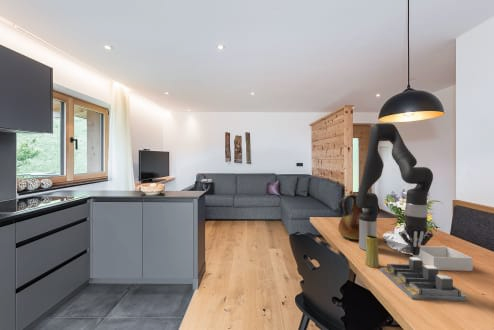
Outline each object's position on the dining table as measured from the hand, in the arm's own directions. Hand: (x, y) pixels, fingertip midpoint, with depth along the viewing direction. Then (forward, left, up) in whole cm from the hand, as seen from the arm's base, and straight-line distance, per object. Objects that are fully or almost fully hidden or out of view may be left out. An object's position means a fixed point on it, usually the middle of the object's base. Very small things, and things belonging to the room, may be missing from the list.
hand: (414, 254), depth 95 cm
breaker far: (-8, +5, -11) cm, 15 cm away
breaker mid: (0, +6, -11) cm, 13 cm away
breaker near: (+8, +5, -11) cm, 15 cm away
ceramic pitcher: (-58, -1, -13) cm, 59 cm away
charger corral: (-21, +27, -13) cm, 36 cm away
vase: (-17, -9, -13) cm, 23 cm away
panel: (0, +2, -13) cm, 13 cm away
